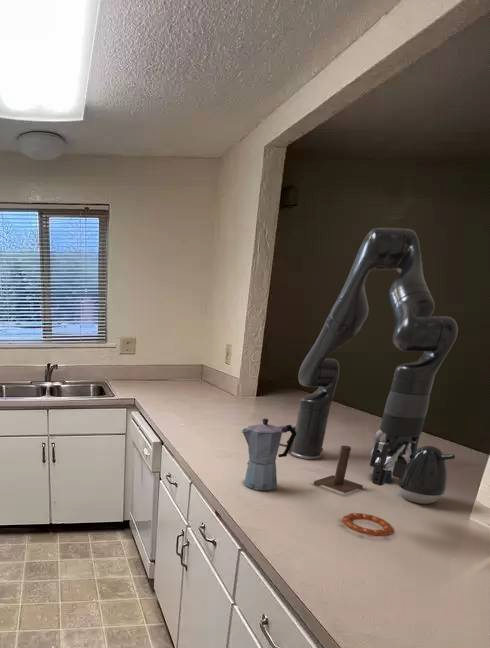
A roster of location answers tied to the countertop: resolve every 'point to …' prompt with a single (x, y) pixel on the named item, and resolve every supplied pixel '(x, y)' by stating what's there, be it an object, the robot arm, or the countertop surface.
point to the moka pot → (264, 453)
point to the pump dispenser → (425, 476)
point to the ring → (384, 532)
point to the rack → (340, 475)
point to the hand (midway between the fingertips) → (387, 480)
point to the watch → (389, 472)
